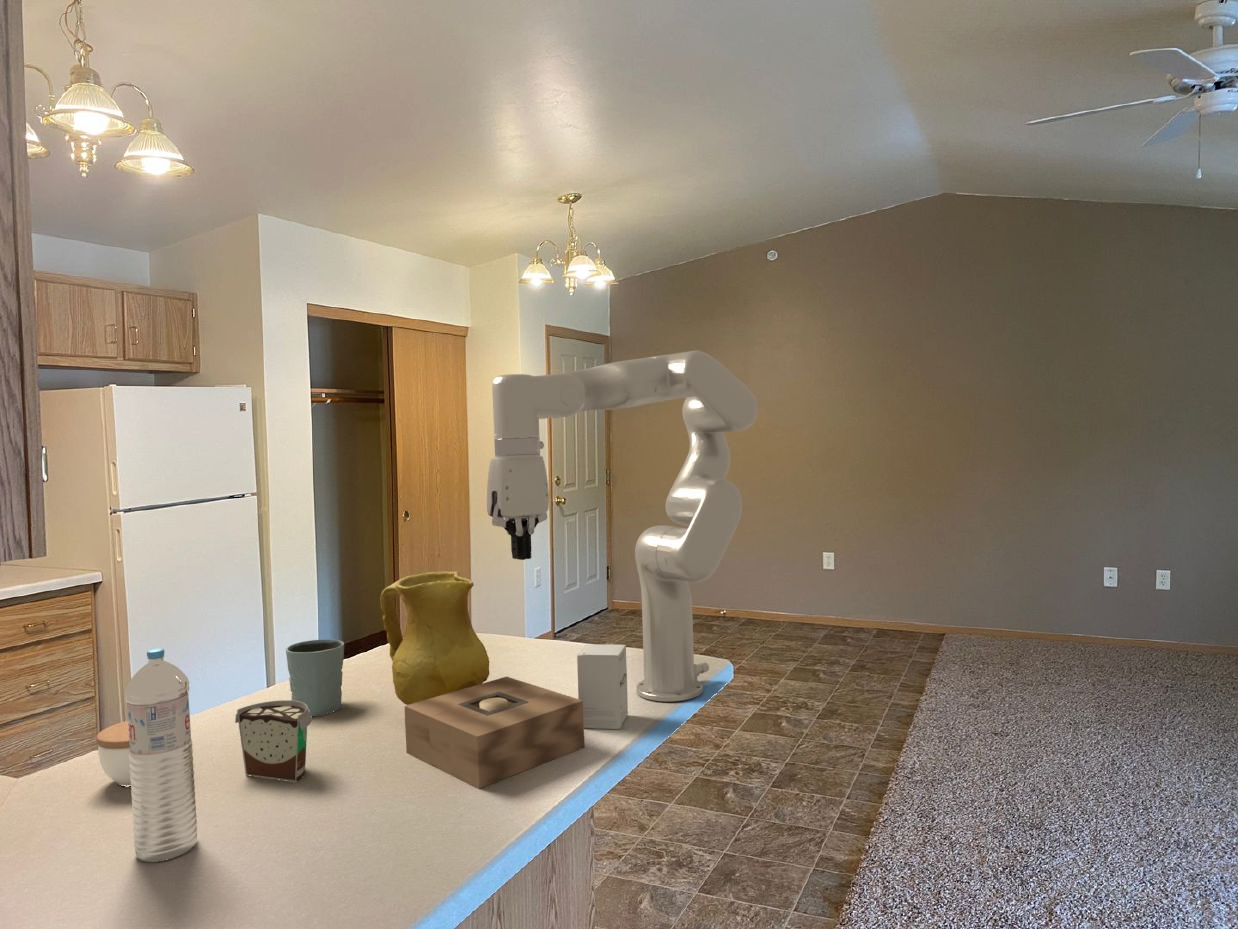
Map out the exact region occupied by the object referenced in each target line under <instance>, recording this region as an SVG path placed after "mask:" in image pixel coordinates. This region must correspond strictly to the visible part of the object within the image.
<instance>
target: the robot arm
mask: <svg viewBox="0 0 1238 929" xmlns="http://www.w3.org/2000/svg"><path fill="white" fill-rule="evenodd" d="M491 386H492V387H491V391H492V392H491V393H492V411H493V413H492V414H493V436H494V441H493V442H494V458H490V460H489V466H488V471H487V472H488V473H487V483H486V484H487V485H486V512H487V515H488V517H491V518H492V519H491V525H492V526H494V527H499V528H503V529H504V530H505V531H506V533H507V536H510V548H511V550H510V551H511V557H512V559H513V560H519V561H520V560H521V561H524V560H531V559H532V535H533V534H534V533H535V529H536V527H537V526H538V524H540V523H542V522H544V521H547V519H548V514H547V513H548V511H549V506H550V496H549V495H550V494H549V483H548V474H547V468H546V465H545V460H544V457H543V456H541V450H543V449H544V447H545V443H544V442H543V440H540V420H542V419H543V420H545V419H558V418H559V419H561V418H568V417H572V416H574V415H576V414H577V413H579V412H589V411H612V410H620V409H627V408H633V407H638V406H644V405H648V404H654V403H660V402H666V401H670V400H678V399H685V400H684V402H683V405H682V411H681V412H682V419H683V424H684V425H685V427H686V431H687V434H688V439H689V450H688V454H687V456H686V458H685V460H684V463H683V465H682V466H681V469H680V471H679V472H678V475H677V477H676V478H675V481H674V482H673V484H672V487H671V489H670V490H669V493H668V494H667V497H666V501H665V506H664V507H665V513H666V515H667V517H668V518H669V519H670V520H671V521H672V522H674V523H676V524H679V525H681V526H686V527H687V528H686V527H681V526H672V525H659V524H658V525H654V526H651V527H648V528H647V529H645V530H643V531H642V533H641V534H640V535H639V537H638V538H637V541H636V544H635V548H634V558H635V564H636V568H637V573H638V579H639V583H640V584H639V585H640V593H641V595H640V596H641V615H642V616H641V617H642V618H641V619H642V647H643V648H642V649H643V672H644V675H643V677H644V679H643V680H641V681H640V682H638V683H637V685H636V689H635V690H636V693H637V695H638V696H639V697H641V698H643V699H645V700H650V701H655V702H667V703H668V702H669V703H670V702H672V703H673V702H680V701H687V700H691V699H694V698H697V697H699V696H700V695H701V694H702V693H703V691H704V688H703V687H704V686H703V683H702V682H701V681H699V680H698V677H699V676H700V675H702V674H704V673H707V672H708V671H709V670H710V666H709V663H708V662H706V661H704V662H700V663H695V659H694V658H695V657H694V655H695V654H694V651H695V650H694V628H693V627H694V624H693V619H694V618H693V597H692V592H691V589H690V585H689V583H700V582H701V583H702V582H704V581H706V580H708V579H709V578H710V577H711V576H713V575H714V573H715V571H716V570H717V568H719V567H718V566H720V563H721V561H722V559H723V558H724V555H725V553H726V551H727V549H728V547H729V545H730V542H731V541H732V538H733V536H734V534H735V533H736V529H737V527H738V526H739V522H740V520H741V517H742V513H743V499H742V498H743V497H742V494H741V492H740V489H739V488H738V486H736V485H735V484H734V482H732V481H729V479H726V477H727V474H728V472H729V469H730V466H731V461H732V458H731V456H732V455H731V452H730V447H729V445H728V441H727V437H726V434H725V433H735V432H742V431H746V430H747V429H749V428H750V427H752V426H753V425H754V423H755V421H756V419H757V417H758V411H759V410H758V408H759V407H758V402H757V399H756V397H755V395H754V393H753V392H752V391H751V389H749V388H748V386H747V385H746V384H744V382H742V380H740V379H739V378H738V377H736V375H734V374H733V373H732V372H731V371H730V370H729V369H728V368H727V367H726V366H724V365H723V364H722V363H721V362H720V361H718V360H717V359H716V358H714V357H713V356H711V355H710V354H708V353H706V352H704V351H702V350H690V351H682V352H677V353H670V354H662V355H656V356H649V357H642V358H636V359H635V358H634V359H627V360H620V361H615V362H614V361H613V362H608V363H605V364H601V365H597V366H593V367H592V366H591V367H589V368H585V369H579V370H574V371H573V370H572V371H567V372H560V373H559V372H558V373H549V374H543V375H530V374H526V373H525V374H523V373H519V374H518V373H517V374H515V373H513V374H500V375H498V376H496V377H495V378H494V379H493V381H492V385H491Z"/></svg>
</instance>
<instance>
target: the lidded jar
mask: <svg viewBox="0 0 1238 929" xmlns="http://www.w3.org/2000/svg"><path fill="white" fill-rule="evenodd" d="M96 744H97V750H98V758H99V762H100V765H101V768H102V771H103V772H104V774H105V775H106V776H107V777H108V778H109V779H111V780H112V781H113V782H115V783H117V785H118V784H119V785H126V786H127V785H131V780H130V776H131V774H130V763H129V762H130V759H129V752H130V743H129V725H128V720H126V721H125V720H124V721H122V722H119V723H116V724H113V725H110V726H108V727H106V728H104V729H102V730H101V731H99V733H98V734H97V735H96ZM119 785H118V786H119Z"/></svg>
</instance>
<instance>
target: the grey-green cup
mask: <svg viewBox="0 0 1238 929" xmlns="http://www.w3.org/2000/svg"><path fill="white" fill-rule="evenodd" d="M344 642H345V641H342V640H339V639H332V638H331V639H330V638H329V639H327V638H326V639H323V638H322V639H311V640H307V641H305V640H304V641H300V642H297V643H293V644H291V645H289V646H287V647H286V648H285V653H286V654H285V655H286V660H287V661H286V662H287V671H288V673H289V676H290V677H288V678H289V688H290V690H289V691H290V692H291V698H290V699H291V700H292V701H299V702H303V703H305V704H306V705H307V707H308V708H309V710H310V713H311V716H316V717H319V716H318V715H322V716H325V715H324V714H326V715H328V714H327V713H330V712H333V711H335V712H337V711H339V708H340V709H341V708H342V707H341V706H342V694H343V693H342V686H343V670H342V669H343V665H344V654H345V653H344V652H345V643H344ZM336 710H337V711H336ZM333 713H334V712H333ZM330 714H331V713H330Z"/></svg>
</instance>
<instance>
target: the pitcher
mask: <svg viewBox="0 0 1238 929" xmlns="http://www.w3.org/2000/svg"><path fill="white" fill-rule="evenodd" d="M473 587H474V582H473V581H472V580H471V579H468V578H465V577H462V576H460V572H459V571H430V572H425V573H418V574H413V575H408V576H405V577H402V578H399V580H397V581H395V582H393V583H392V584H391V585H389V586H386V587H385V588H384V589H382V591H381V592H380V593H381V594H380V598H379V603H380V609H381V610H380V611H381V612H382V613H383V615H382V621H383V629H384V631H385V632H386V638H387V639H386V641H387V643H388V645H389V657H390V659H391V661H392V664H391V669H392V670H391V671H392V672H391V673H392V682H393V686H394V691H395V692H394V693H395V696H396V697H397V698H398V700H399V701H401V702H402V703H403V704H404V705H405V706H406V705H410V704H413V703H417V702H420V701H424V700H427V699H430V698H434V697H437V696H441V695H444V694H448V693H451V692H455V691H458V690H462V689H465V688H469V687H472V686H475V685H479V684H482V683H485V682H487V680H488V678H489V676H490V658H489V656H488V651H487V650H486V647H485V646H484V643H483V642H482V641H481V640H480V638H479V637H478V635H477V633H476V632H475V630H474V628H473V625H472V622H471V618H470V612H469V608H468V606H469V605H468V600H469V599H468V597H469V592H470V590H471V589H472V588H473ZM396 596H398V597H400V598H401V600H402V601H403V603H404V606H405V609H406V613H407V614H406V615H407V616H406V628H405V632H404V636H403V634H402V630H401V627H400V623H399V618H398V614H397V609H396Z"/></svg>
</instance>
